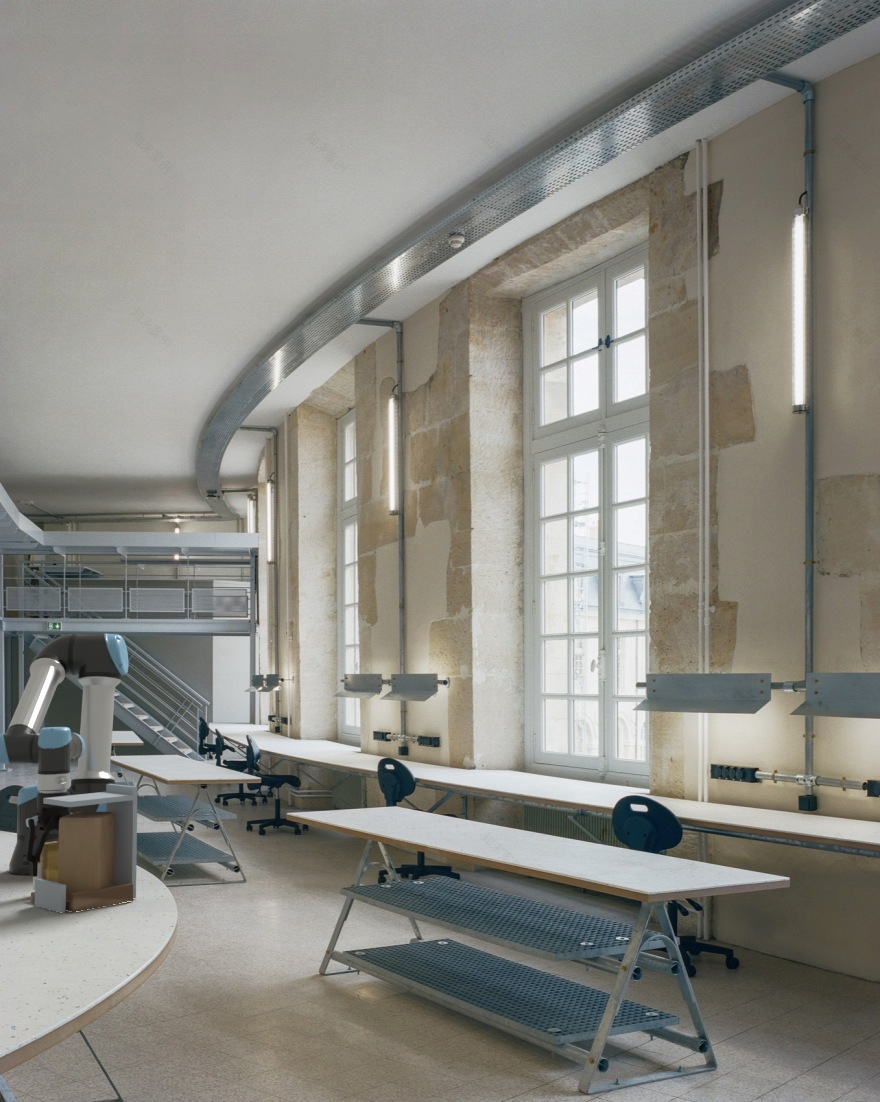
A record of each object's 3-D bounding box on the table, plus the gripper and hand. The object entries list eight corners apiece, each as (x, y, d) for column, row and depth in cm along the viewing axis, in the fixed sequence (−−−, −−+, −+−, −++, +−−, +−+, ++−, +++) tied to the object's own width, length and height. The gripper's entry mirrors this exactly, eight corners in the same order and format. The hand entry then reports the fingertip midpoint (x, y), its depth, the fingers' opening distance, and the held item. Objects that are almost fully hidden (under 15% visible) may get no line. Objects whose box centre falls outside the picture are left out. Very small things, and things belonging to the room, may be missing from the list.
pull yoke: (17, 897, 263) (19, 846, 265) (75, 887, 274) (76, 838, 276) (73, 912, 246) (74, 857, 247) (132, 901, 257) (133, 849, 258)
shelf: (34, 906, 254) (37, 790, 257) (108, 892, 268) (110, 783, 270) (60, 913, 246) (63, 794, 248) (135, 899, 260) (137, 786, 262)
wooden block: (114, 897, 261) (116, 811, 263) (97, 906, 251) (99, 816, 253) (74, 897, 262) (75, 811, 264) (55, 906, 252) (57, 816, 254)
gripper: (22, 795, 260) (20, 896, 258) (98, 788, 275) (96, 883, 272) (7, 793, 265) (4, 892, 263) (82, 786, 280) (80, 879, 277)
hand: (51, 887), depth 268 cm, fingers open, 7 cm apart
